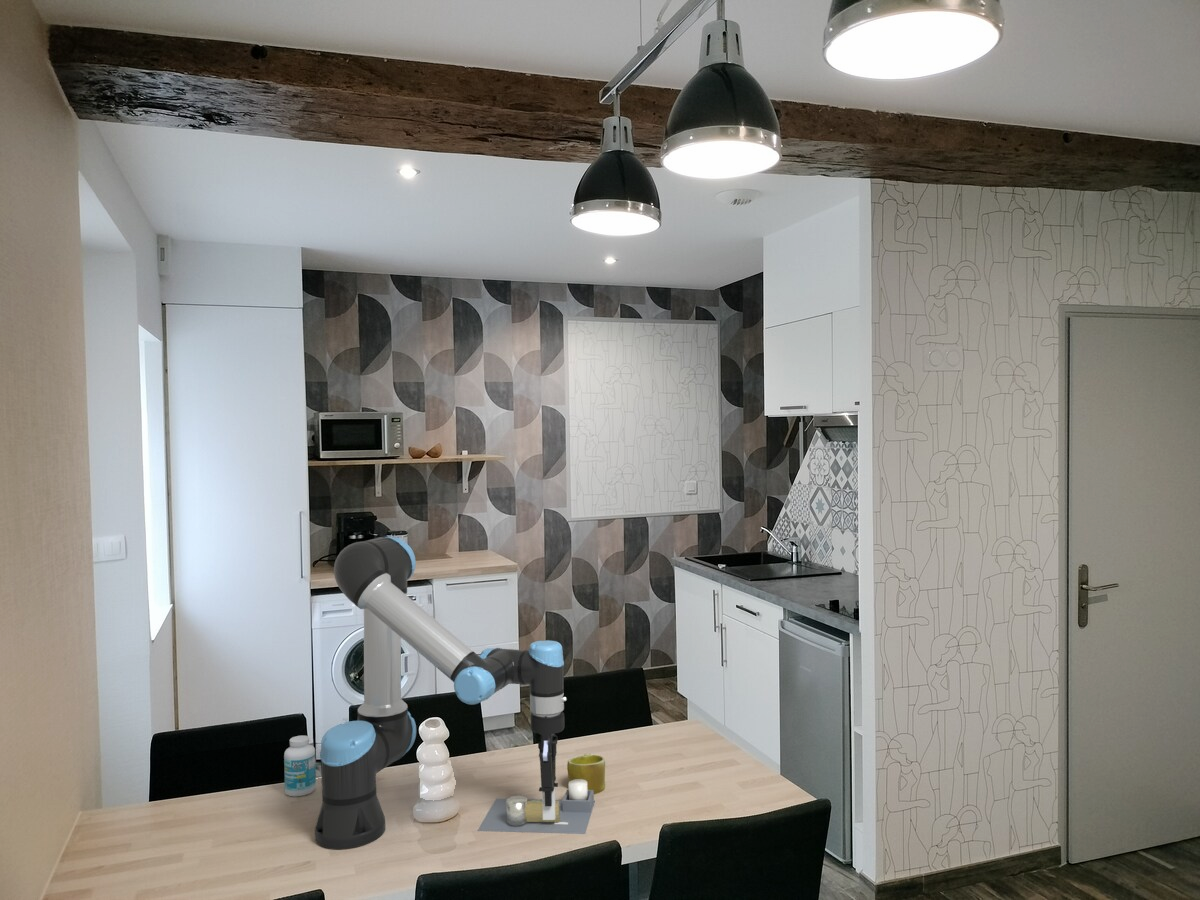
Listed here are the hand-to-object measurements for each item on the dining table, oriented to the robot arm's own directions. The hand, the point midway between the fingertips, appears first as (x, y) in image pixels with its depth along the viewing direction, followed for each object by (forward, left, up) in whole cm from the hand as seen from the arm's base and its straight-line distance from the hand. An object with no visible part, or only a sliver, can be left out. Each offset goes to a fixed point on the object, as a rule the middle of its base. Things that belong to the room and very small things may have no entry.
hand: (549, 818), depth 185 cm
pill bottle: (-67, +17, -3) cm, 69 cm away
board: (-3, +5, -3) cm, 6 cm away
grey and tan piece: (-4, +1, -1) cm, 4 cm away
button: (+5, +10, -1) cm, 11 cm away
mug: (+6, +23, -3) cm, 24 cm away
